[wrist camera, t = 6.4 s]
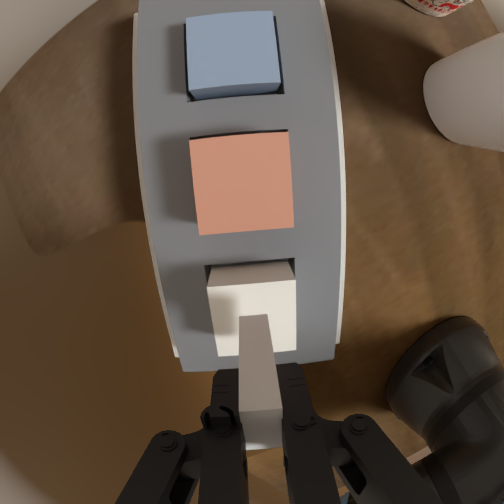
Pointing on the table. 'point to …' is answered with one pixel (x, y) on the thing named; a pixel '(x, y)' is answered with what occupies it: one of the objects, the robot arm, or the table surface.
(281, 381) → the robot arm
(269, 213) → the terracotta key
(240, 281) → the white key
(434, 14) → the teacup with lid
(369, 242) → the table surface
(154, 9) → the key console
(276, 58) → the blue key
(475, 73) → the candle holder
